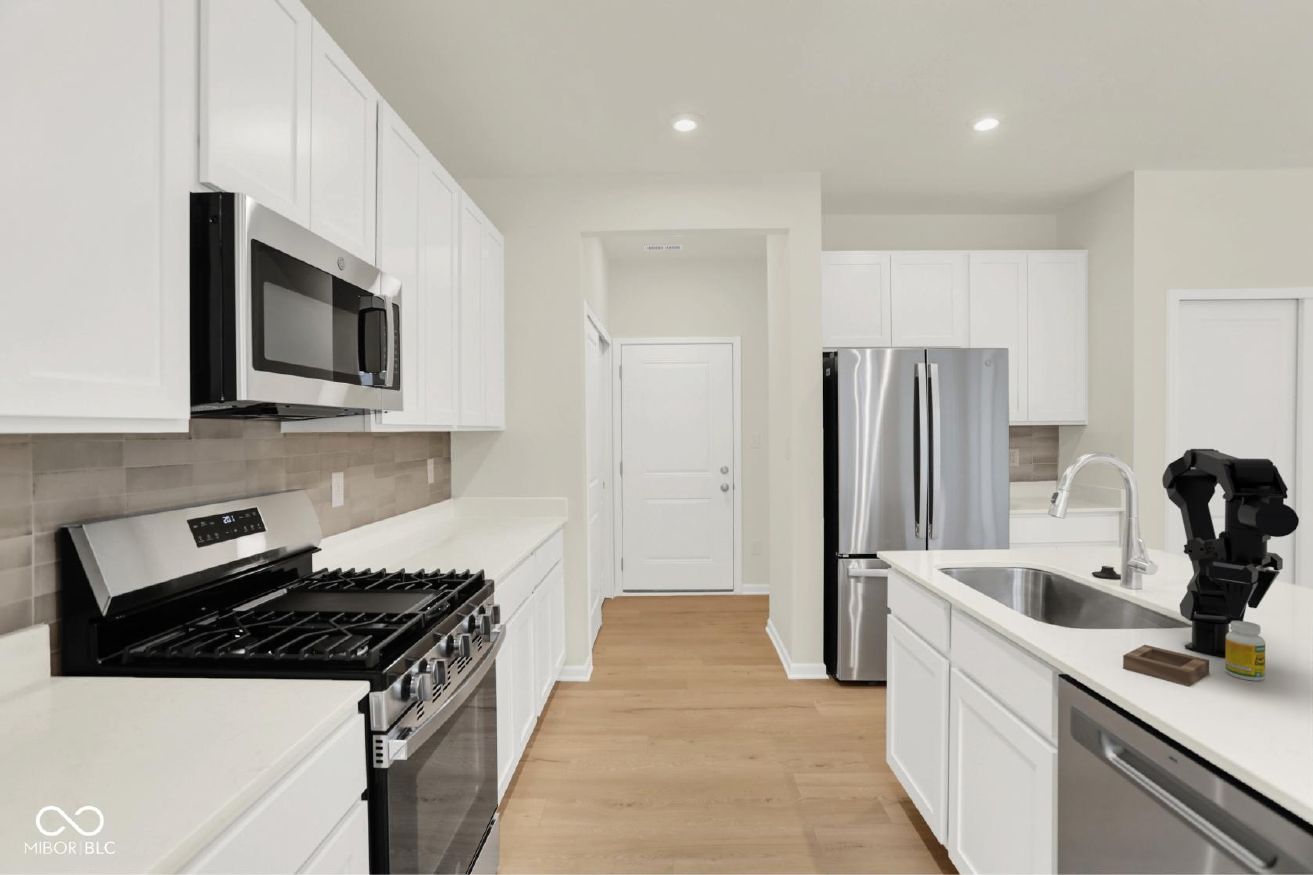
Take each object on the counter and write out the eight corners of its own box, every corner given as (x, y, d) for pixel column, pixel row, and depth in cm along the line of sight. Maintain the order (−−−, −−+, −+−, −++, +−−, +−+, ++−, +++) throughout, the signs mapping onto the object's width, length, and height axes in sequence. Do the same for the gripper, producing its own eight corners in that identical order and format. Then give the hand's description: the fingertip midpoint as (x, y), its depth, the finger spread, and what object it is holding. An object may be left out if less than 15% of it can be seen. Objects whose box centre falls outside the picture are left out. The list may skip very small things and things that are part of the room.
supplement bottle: (1230, 667, 120) (1231, 617, 120) (1269, 677, 116) (1269, 624, 116) (1220, 674, 118) (1221, 622, 117) (1259, 684, 113) (1260, 630, 113)
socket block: (1144, 657, 126) (1144, 644, 126) (1209, 673, 118) (1209, 659, 118) (1123, 668, 121) (1123, 655, 121) (1189, 686, 112) (1189, 672, 112)
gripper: (1208, 516, 128) (1207, 593, 128) (1171, 526, 118) (1170, 610, 118) (1284, 524, 119) (1282, 607, 119) (1251, 535, 108) (1250, 626, 109)
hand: (1244, 612), depth 117 cm, fingers open, 9 cm apart
